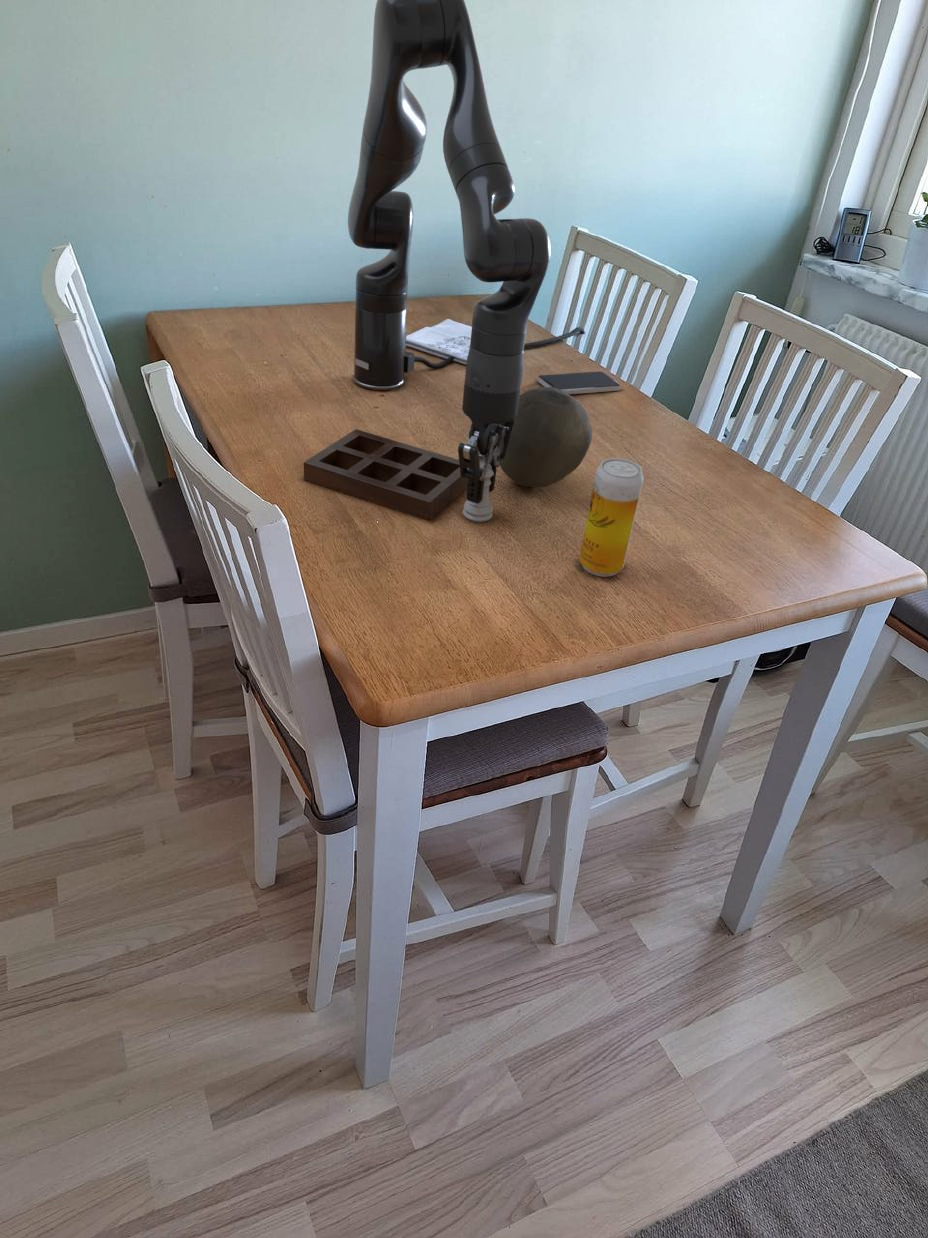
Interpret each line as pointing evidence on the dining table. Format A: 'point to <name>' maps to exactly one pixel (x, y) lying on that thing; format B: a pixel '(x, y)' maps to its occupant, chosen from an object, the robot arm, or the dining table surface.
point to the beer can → (611, 516)
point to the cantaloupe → (546, 438)
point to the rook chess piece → (484, 508)
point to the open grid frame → (387, 473)
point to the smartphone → (580, 382)
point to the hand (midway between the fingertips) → (480, 494)
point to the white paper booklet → (443, 340)
